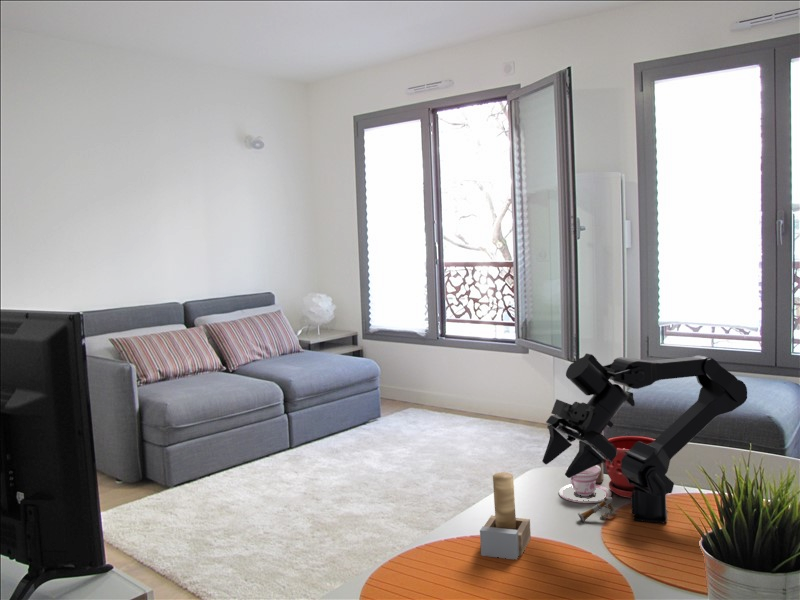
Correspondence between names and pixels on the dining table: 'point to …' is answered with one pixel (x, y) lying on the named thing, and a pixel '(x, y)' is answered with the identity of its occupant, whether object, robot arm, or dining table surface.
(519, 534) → the socket block
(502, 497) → the dowel
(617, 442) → the plant pot
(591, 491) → the teacup
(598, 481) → the wooden block
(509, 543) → the wall
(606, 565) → the dining table surface
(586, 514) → the brown and silver rod
